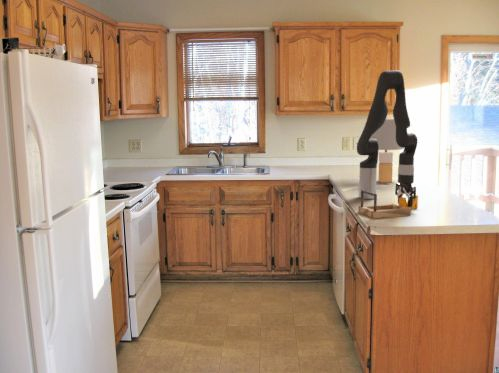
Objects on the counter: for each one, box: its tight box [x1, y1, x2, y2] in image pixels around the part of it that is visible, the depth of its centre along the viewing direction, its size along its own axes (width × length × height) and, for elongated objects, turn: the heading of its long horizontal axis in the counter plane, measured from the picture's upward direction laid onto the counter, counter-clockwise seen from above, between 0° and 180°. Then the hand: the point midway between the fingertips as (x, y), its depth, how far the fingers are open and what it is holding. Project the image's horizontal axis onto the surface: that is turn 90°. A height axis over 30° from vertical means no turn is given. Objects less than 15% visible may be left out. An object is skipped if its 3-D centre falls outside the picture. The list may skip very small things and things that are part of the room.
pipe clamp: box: [398, 194, 419, 210], centre depth 261 cm, size 12×4×6 cm, turn 128°
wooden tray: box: [358, 190, 412, 219], centre depth 249 cm, size 15×19×11 cm
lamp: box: [371, 118, 404, 184], centre depth 349 cm, size 23×23×42 cm
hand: (404, 205), depth 262 cm, fingers open, 8 cm apart
